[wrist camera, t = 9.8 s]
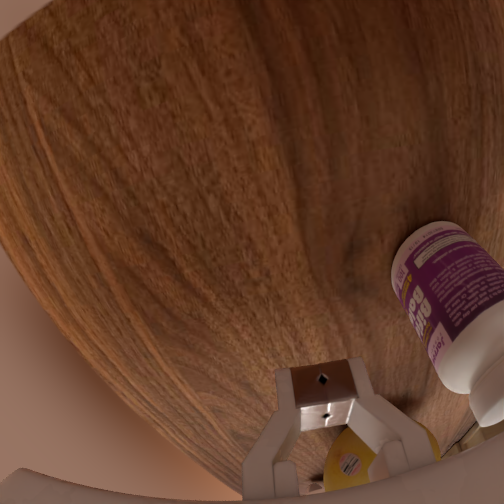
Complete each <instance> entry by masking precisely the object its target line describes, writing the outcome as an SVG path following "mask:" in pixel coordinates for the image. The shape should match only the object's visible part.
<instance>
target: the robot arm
mask: <svg viewBox="0 0 504 504" xmlns="http://www.w3.org/2000/svg"><path fill="white" fill-rule="evenodd" d="M275 380H276V389H277V399H278V409H279V411H274V413H273V415H272V416H271V418H270V420H269V421H268V423H267V425H266V426H265V428H264V429H263V431H262V433H261V434H260V436H259V437H258V439H257V441H256V442H255V444H254V445H253V447H252V449H251V450H250V452H249V453H248V455H247V456H246V458H245V459H244V461H243V462H242V496H243V501H196V500H195V501H194V500H177V499H165V498H155V497H146V496H138V495H132V494H125V493H119V492H113V491H108V490H103V489H98V488H93V487H89V486H84V485H80V484H76V483H72V482H68V481H64V480H61V479H58V478H54V477H50V476H47V475H44V474H41V473H38V472H35V471H32V470H29V469H26V468H19V469H17V470H16V471H14V472H13V473H12V474H10V475H9V476H8V477H6V479H4V480H3V481H2V482H1V483H0V504H504V431H503V432H501V433H500V434H498V435H496V436H494V437H492V438H490V439H488V440H486V441H484V442H482V443H480V444H477V445H475V446H473V447H471V448H469V449H467V450H464V451H462V452H460V453H457V454H455V455H453V456H450V457H448V458H445V459H443V460H440V461H438V462H436V459H435V456H434V453H433V450H432V447H431V444H430V441H429V438H428V435H427V432H426V430H425V429H424V428H422V427H421V426H420V425H418V424H417V423H416V422H414V421H413V420H412V419H411V418H409V417H408V416H407V415H405V414H404V413H403V412H401V411H400V410H399V409H397V408H396V407H395V406H394V405H392V404H391V403H390V402H388V401H387V400H386V399H385V398H383V397H382V396H381V395H379V394H376V395H375V394H374V391H373V388H372V385H371V382H370V379H369V376H368V373H367V370H366V367H365V364H364V361H363V359H362V358H361V357H355V358H350V359H342V360H337V361H331V362H325V363H319V364H315V365H308V366H299V367H289V368H281V369H275ZM343 424H347V425H348V426H349V427H350V428H351V429H352V430H353V431H354V432H355V433H356V434H357V435H358V436H359V437H360V438H361V439H362V440H363V441H364V442H365V443H366V444H367V445H368V446H369V447H370V448H371V449H372V450H373V451H374V452H375V453H376V454H377V456H376V457H375V459H374V460H373V462H372V463H371V465H370V466H369V468H368V469H367V470H368V475H369V479H370V483H367V484H362V485H358V486H354V487H349V488H344V489H339V490H334V491H328V492H323V493H316V494H310V495H303V496H300V495H299V488H298V480H297V472H296V464H295V463H294V462H292V461H287V459H288V457H289V455H290V453H291V451H292V449H293V447H294V445H295V443H296V441H297V439H298V437H299V435H300V432H301V431H307V430H313V429H319V428H324V427H331V426H337V425H343Z"/></svg>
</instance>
